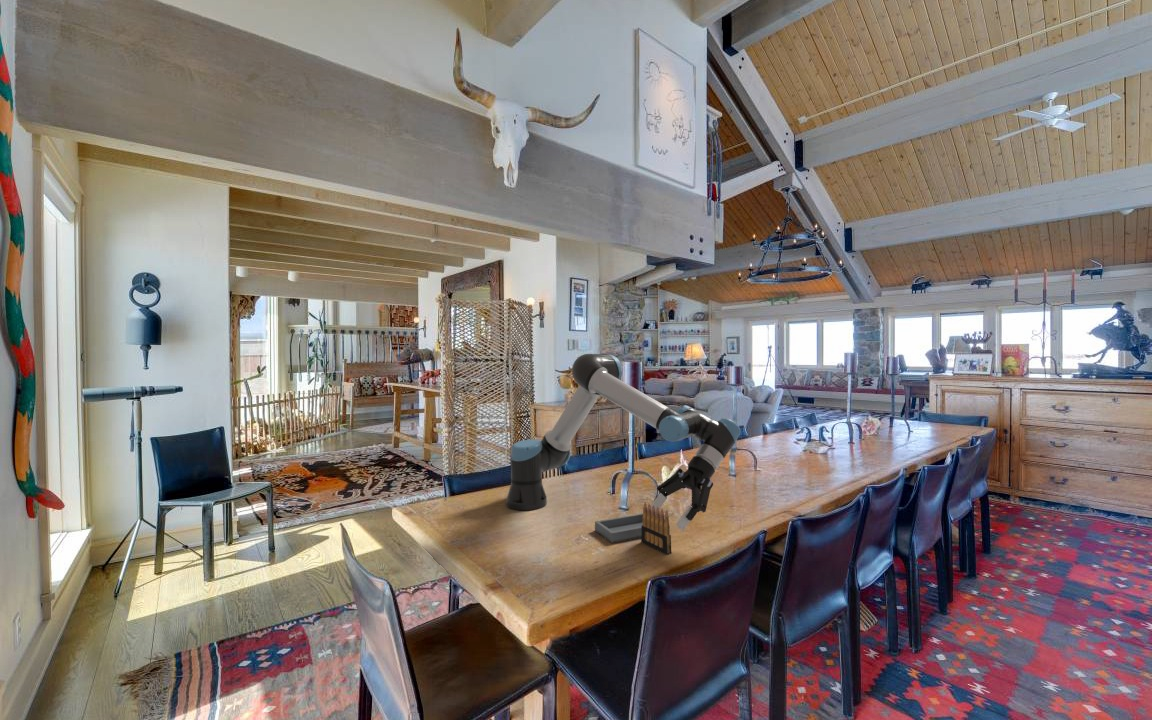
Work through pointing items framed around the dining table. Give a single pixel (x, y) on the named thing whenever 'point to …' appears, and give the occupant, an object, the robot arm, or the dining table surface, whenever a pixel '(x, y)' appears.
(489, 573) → the dining table surface
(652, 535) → the ammunition clip
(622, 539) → the tray
